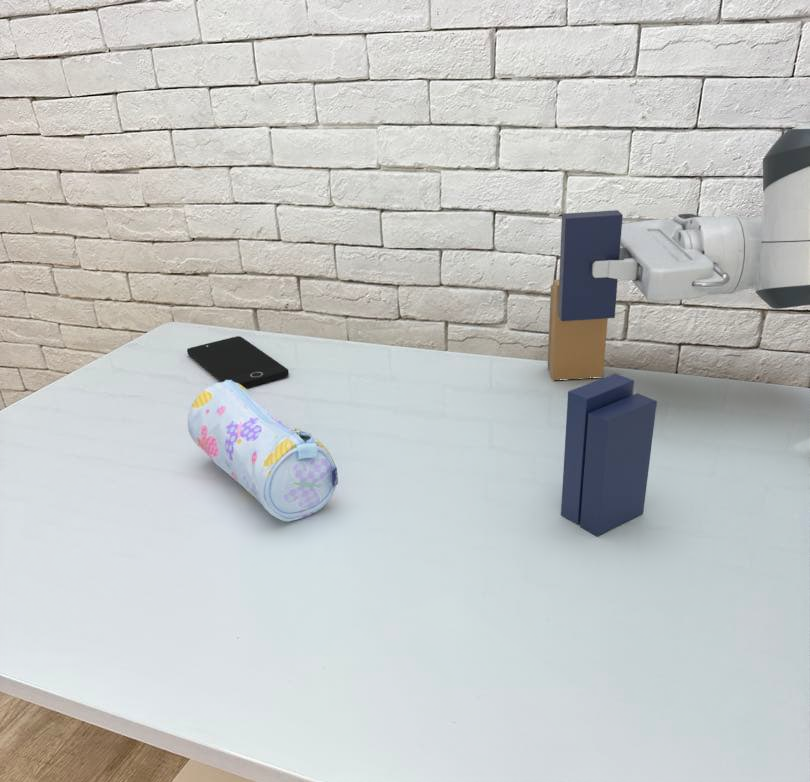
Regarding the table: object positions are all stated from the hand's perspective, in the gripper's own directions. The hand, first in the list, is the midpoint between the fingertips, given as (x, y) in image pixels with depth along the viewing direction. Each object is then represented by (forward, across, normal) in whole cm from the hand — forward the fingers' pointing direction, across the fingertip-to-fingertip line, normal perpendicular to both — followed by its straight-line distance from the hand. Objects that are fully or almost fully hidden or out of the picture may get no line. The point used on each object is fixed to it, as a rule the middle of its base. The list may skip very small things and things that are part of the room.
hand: (588, 263), depth 101 cm
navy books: (+3, -29, -17) cm, 33 cm away
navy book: (0, 0, -6) cm, 6 cm away
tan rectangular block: (-1, +8, -17) cm, 19 cm away
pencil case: (+39, -18, -17) cm, 46 cm away
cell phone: (+47, +18, -17) cm, 53 cm away
